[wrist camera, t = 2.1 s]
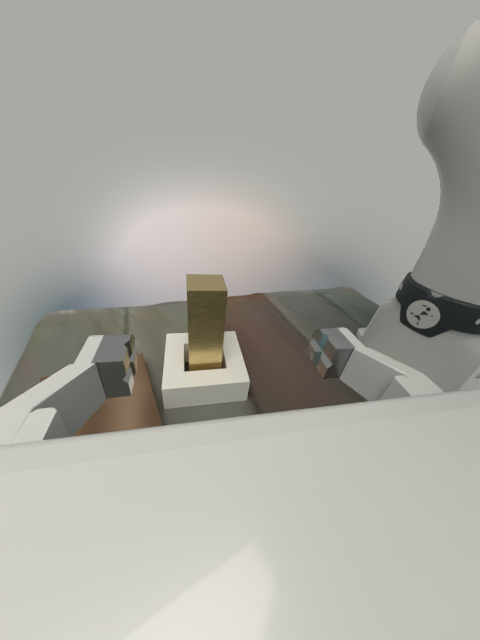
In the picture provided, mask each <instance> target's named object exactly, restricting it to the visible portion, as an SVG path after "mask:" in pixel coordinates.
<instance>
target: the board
mask: <svg viewBox="0 0 480 640" xmlns="http://www.w3.org/2000/svg"><path fill="white" fill-rule="evenodd" d="M137 361H138V362H137V371H136V374H135V375H134V376H133V379H134V385H133V389H132V394H131V396H125V397H116V398H107V400H106V401H105V402H104V403H103V404H102V406H101V407H100V408H99V409H98V410H97V411H96V412H95V413H94V414H93V415H92V416H91V417H90V418H89V419H88V420H87V421H86V423H85V424H84V425H83V426H82V427H81V428H80V429H79V430H78V431H77V432H76V433H75V434H74V435H73V436H81V435H89V434H98V433H106V432H115V431H123V430H131V429H140V428H148V427H157V426H163V424H162V421H161V417H160V414H159V410H158V407H157V403H156V400H155V396H154V393H153V389H152V386H151V382H150V379H149V375H148V372H147V368H146V365H145V361H144V357H143V354H139V355H137ZM51 376H52V375H51ZM49 377H50V376H47V377H43V378H41V380H40V383H41V382H42V381H44V380H45V379H47V378H49Z"/></svg>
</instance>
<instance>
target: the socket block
mask: <svg viewBox="0 0 480 640" xmlns="http://www.w3.org/2000/svg"><path fill="white" fill-rule="evenodd" d="M185 362H189V347H188V333H175V334H167V336H166V347H165V358H164V369H163V380H162V397H163V404H164V409H172V408H181V407H191V406H200V405H209V404H218V403H227V402H237V401H246V400H247V396H248V390H249V385H250V380H249V376H248V373H247V370H246V366H245V363H244V360H243V356H242V353H241V350H240V347H239V343H238V340H237V337H236V333H235V331H226V332H224V342H223V354H222V369H212V370H199V371H186V372H185Z"/></svg>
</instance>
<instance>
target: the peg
mask: <svg viewBox="0 0 480 640" xmlns="http://www.w3.org/2000/svg"><path fill="white" fill-rule="evenodd" d="M227 292H228V291H227V288H226V285H225V282H224V279H223V276H222V275H199V274H198V275H197V274H195V275H194V274H187V311H188V347H189V371H199V370H212V369H221V367H222V354H223V342H224V329H225V317H226V305H227Z"/></svg>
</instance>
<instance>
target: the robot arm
mask: <svg viewBox="0 0 480 640" xmlns="http://www.w3.org/2000/svg"><path fill="white" fill-rule="evenodd" d="M417 129H418V133H419V137H420V139H421V141H422V143H423V145H424V146H425V147H426V149H427V150H428V151H429V153H430V154H431V156H432V158H433V160H434V162H435V164H436V167H437V170H438V174H439V179H440V186H441V187H440V188H441V197H440V205H439V211H438V215H437V218H436V221H435V224H434V226H433V229H432V232H431V234H430V236H429V239H428V241H427V243H426V245H425V247H424V249H423V251H422V254H421V255H420V257H419V259H418V261H417V263H416V265H415V267H414V269H413V271H412V272H410V273H408V274H407V275H406V277H405V278H404V280H403V281H402V282H401V284H400V286H399V289H398V291H397V293H396V297H395V298H392V299H388V300H384V301H383V302H382V304H381V305H380V307H379V308H378V310H377V311H376V313H375V315H374V316H373V318H372V320H371V321H370V323H369V325H368V326H367V327H366V328H359V329H358V331H357V332H356V336H357V338H358V339H359V340H358V339H357V338H356V337H355V336H354V335H353V334H352V333H351V332H350V331H349V330H348V329H347V328H345V327H341V328H328V329H316V330H315V331H314V332H313V335H312V336H313V339H314V340H312V341H311V342H310V344H309V347H308V355H309V358H310V359H311V361H312V362H313V363H315V364H316V365H317V368H316V369H317V370H318V372H319V373H320V375H321V376H322V378H323V379H330V378H339V379H340V380H341V381H343V382H344V383H345V384H347V385H348V386H349V387H351V388H352V389H353V390H355V391H356V392H357V393H359V394H360V395H361V396H363V397H364V398H365V399H367V400H368V401H367V402H359V403H351V404H342V405H334V406H325V407H317V408H308V409H300V410H291V411H283V412H274V413H266V414H258V415H249V416H241V417H232V418H224V419H216V420H207V421H199V422H190V423H182V424H173V425H165V426H157V427H148V428H140V429H131V430H123V431H115V432H106V433H98V434H89V435H81V436H73V435H74V434H75V433H76V432H77V431H78V430H79V429H80V428H81V427H82V426H83V425H84V424H85V423H86V421H87V420H88V419H89V418H90V417H91V416H92V415H93V414H94V413H95V412H96V411H97V410H98V409H99V408H100V407H101V406H102V404H103V403H104V402H105V401H106V400H107V398H116V397H125V396H131V394H132V389H133V385H134V379H133V376H134V375H135V374H136V371H137V362H138V361H137V352H136V351H135V350H134V345H135V341H134V336H133V335H91V336H89V337H88V339H87V340H86V342H85V344H84V346H83V348H82V350H81V351H80V353H79V355H78V357H77V359H76V361H75V363H74V364H71V365H68V366H66V367H64V368H63V369H61V370H60V371H58V372H56V373H55V374H53V375H52V376H50V377H49V378H47V379H45V380H44V381H42V382H41V383H39V384H37V385H36V386H34V387H33V388H31V389H29V390H28V391H26V392H25V393H23V394H21V395H20V396H18V397H17V398H15V399H14V400H12V401H10V402H9V403H7V404H6V405H4V406H2V407H1V408H0V640H480V19H478V20H476V21H474V22H473V23H472V24H471V25H470V26H469V27H467V28H466V29H465V30H464V31H463V32H462V33H461V34H460V35H459V36H458V37H457V38H456V39H455V41H454V42H453V43H452V44H451V45H450V46H449V48H448V49H447V50H446V51H445V53H444V54H443V55H442V57H441V58H440V59H439V61H438V63H437V64H436V66H435V67H434V69H433V71H432V72H431V75H430V76H429V78H428V80H427V82H426V85H425V87H424V89H423V92H422V94H421V98H420V101H419V105H418V111H417Z"/></svg>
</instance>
